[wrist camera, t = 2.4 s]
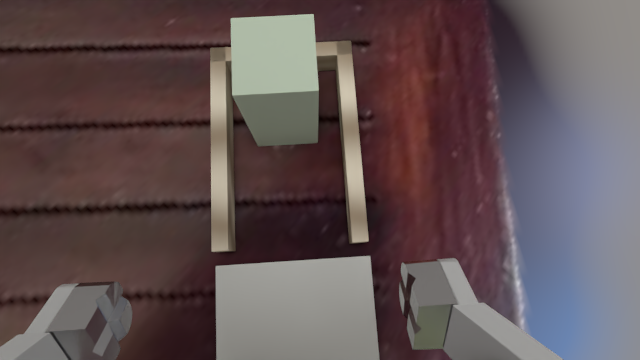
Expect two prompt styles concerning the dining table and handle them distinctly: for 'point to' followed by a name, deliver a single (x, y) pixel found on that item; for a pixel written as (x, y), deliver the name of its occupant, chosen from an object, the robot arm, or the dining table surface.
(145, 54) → the dining table surface
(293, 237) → the dining table surface
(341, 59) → the lane
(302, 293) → the mat
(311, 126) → the block
